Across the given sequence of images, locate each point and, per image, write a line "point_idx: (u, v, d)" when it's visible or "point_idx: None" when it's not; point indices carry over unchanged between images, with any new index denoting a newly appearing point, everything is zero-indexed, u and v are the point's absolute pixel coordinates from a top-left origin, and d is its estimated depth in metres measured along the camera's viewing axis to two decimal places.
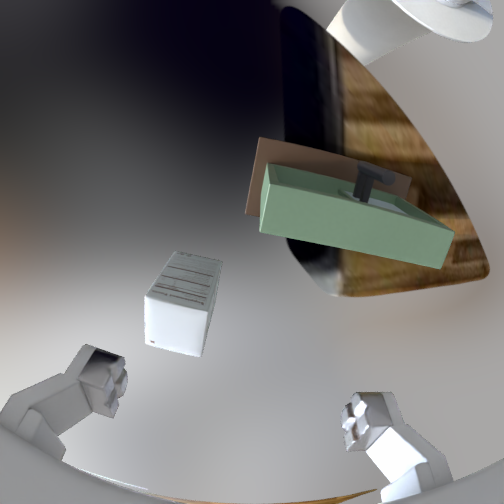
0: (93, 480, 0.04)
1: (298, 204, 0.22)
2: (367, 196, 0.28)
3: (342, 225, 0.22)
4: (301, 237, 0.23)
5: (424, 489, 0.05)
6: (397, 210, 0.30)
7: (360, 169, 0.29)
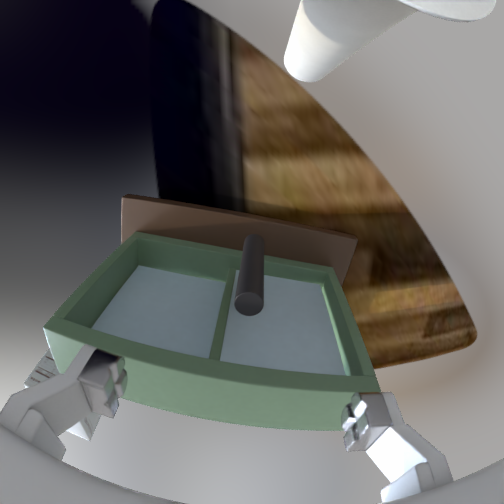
0: (93, 480, 0.04)
1: None
2: None
3: (150, 388, 0.13)
4: None
5: (424, 489, 0.04)
6: (313, 309, 0.20)
7: None
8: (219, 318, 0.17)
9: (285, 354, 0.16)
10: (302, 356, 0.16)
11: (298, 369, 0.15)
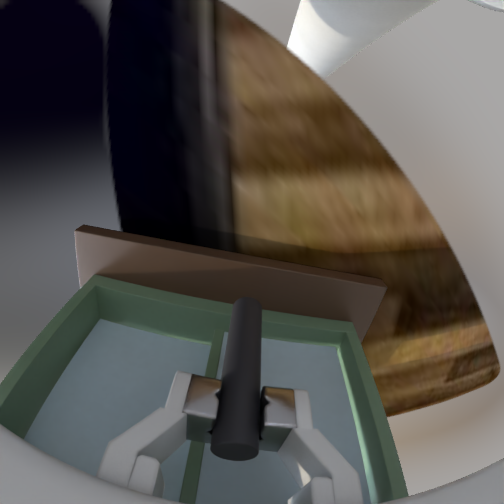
0: (93, 480, 0.04)
1: None
2: None
3: None
4: None
5: None
6: (328, 392, 0.14)
7: None
8: None
9: (289, 475, 0.09)
10: None
11: None
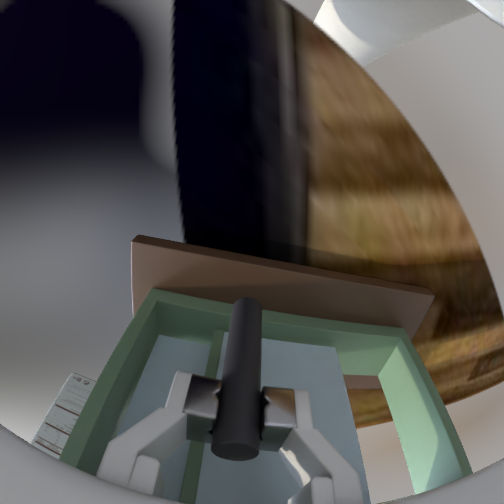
0: (93, 480, 0.04)
1: None
2: None
3: None
4: None
5: None
6: (327, 392, 0.14)
7: None
8: None
9: (289, 475, 0.09)
10: None
11: None
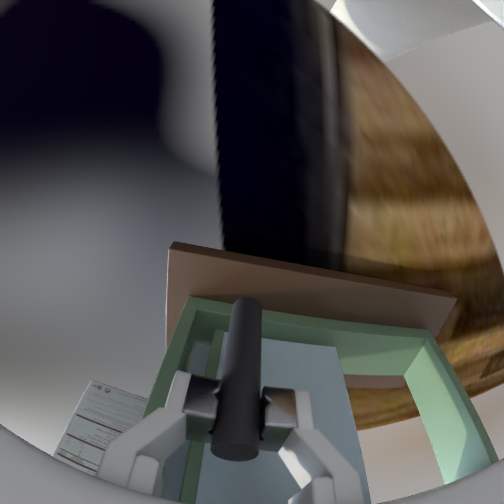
0: (93, 480, 0.04)
1: None
2: None
3: None
4: None
5: None
6: (328, 392, 0.14)
7: None
8: None
9: (289, 475, 0.09)
10: None
11: None
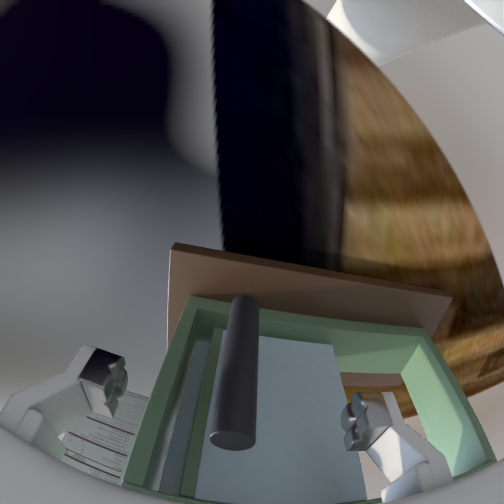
0: (93, 480, 0.04)
1: None
2: None
3: None
4: None
5: (424, 489, 0.04)
6: (324, 388, 0.14)
7: None
8: (197, 416, 0.11)
9: (286, 468, 0.09)
10: (310, 468, 0.09)
11: (303, 488, 0.08)
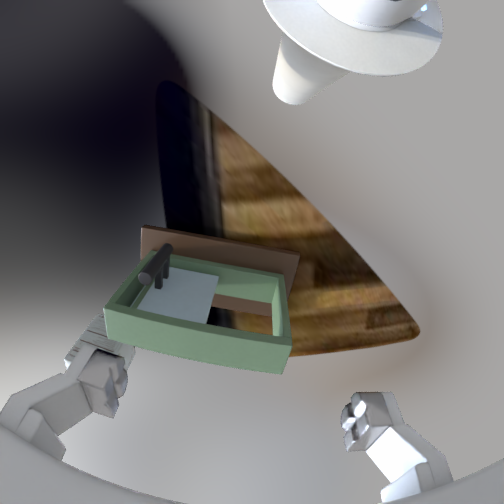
0: (93, 480, 0.04)
1: (126, 323, 0.25)
2: (158, 282, 0.31)
3: (164, 339, 0.25)
4: (136, 345, 0.26)
5: (424, 489, 0.04)
6: (204, 290, 0.33)
7: None
8: (142, 291, 0.30)
9: (172, 311, 0.28)
10: (182, 313, 0.28)
11: None
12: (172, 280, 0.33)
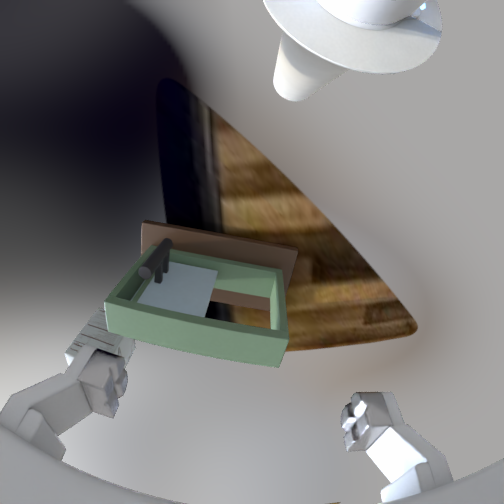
0: (93, 480, 0.04)
1: (126, 316, 0.25)
2: (158, 277, 0.31)
3: (163, 332, 0.26)
4: (136, 338, 0.26)
5: (424, 489, 0.05)
6: (203, 284, 0.33)
7: None
8: (142, 285, 0.30)
9: (171, 304, 0.29)
10: (181, 307, 0.29)
11: None
12: (172, 274, 0.34)
